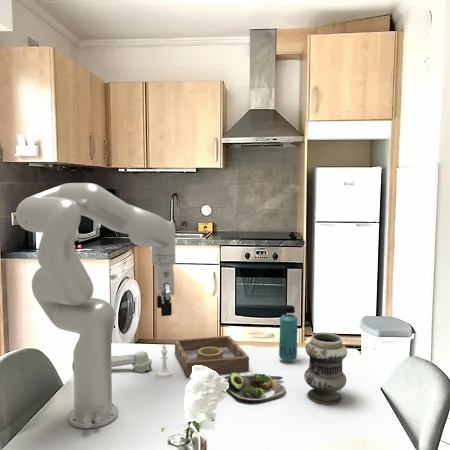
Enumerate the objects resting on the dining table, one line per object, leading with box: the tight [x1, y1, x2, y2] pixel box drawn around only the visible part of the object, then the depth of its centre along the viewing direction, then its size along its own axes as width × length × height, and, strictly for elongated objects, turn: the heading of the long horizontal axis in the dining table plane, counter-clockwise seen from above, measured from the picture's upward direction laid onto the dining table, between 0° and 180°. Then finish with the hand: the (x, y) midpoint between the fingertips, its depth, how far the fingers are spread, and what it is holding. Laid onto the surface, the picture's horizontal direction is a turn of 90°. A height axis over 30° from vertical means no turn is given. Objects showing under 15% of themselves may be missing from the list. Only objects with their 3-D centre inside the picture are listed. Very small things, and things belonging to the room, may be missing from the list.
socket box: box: [174, 335, 250, 379], centre depth 153 cm, size 23×21×5 cm
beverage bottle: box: [278, 304, 299, 361], centre depth 154 cm, size 6×7×20 cm
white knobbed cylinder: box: [72, 350, 153, 374], centre depth 145 cm, size 5×7×25 cm
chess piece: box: [156, 344, 173, 379], centre depth 142 cm, size 5×5×10 cm
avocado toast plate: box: [223, 372, 286, 404], centre depth 133 cm, size 19×18×5 cm
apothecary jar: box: [303, 332, 348, 405], centre depth 127 cm, size 12×12×18 cm
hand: (164, 311), depth 141 cm, fingers open, 9 cm apart
